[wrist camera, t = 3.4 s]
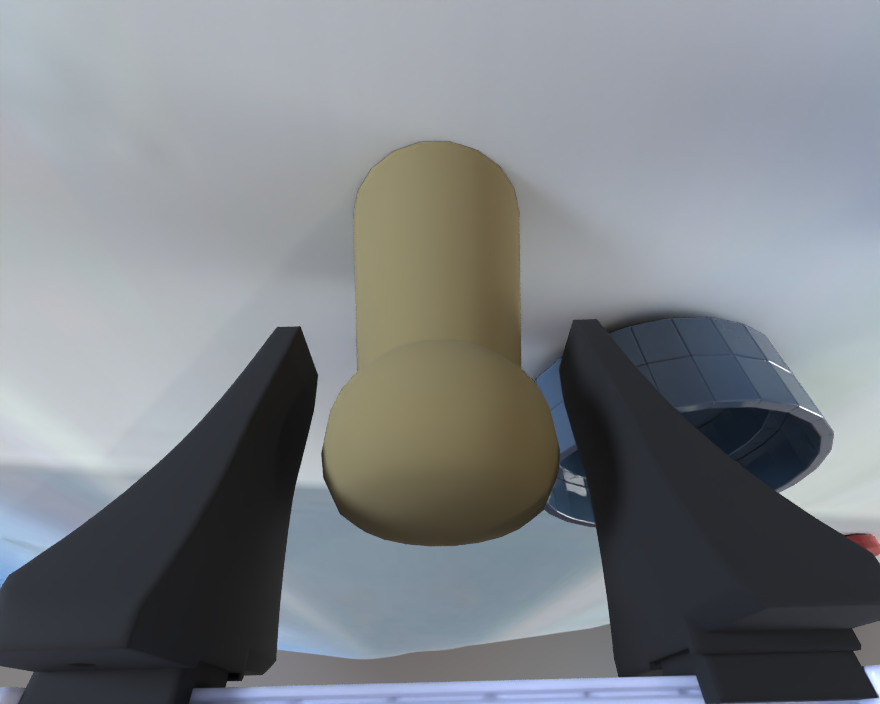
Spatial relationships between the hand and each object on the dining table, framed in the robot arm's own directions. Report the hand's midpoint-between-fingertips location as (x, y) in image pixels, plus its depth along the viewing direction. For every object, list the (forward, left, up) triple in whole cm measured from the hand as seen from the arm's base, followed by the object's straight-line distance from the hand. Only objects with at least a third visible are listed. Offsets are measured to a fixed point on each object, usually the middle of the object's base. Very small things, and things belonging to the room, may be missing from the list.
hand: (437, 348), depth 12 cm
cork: (0, 0, -6) cm, 6 cm away
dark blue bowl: (-11, +11, -6) cm, 17 cm away
